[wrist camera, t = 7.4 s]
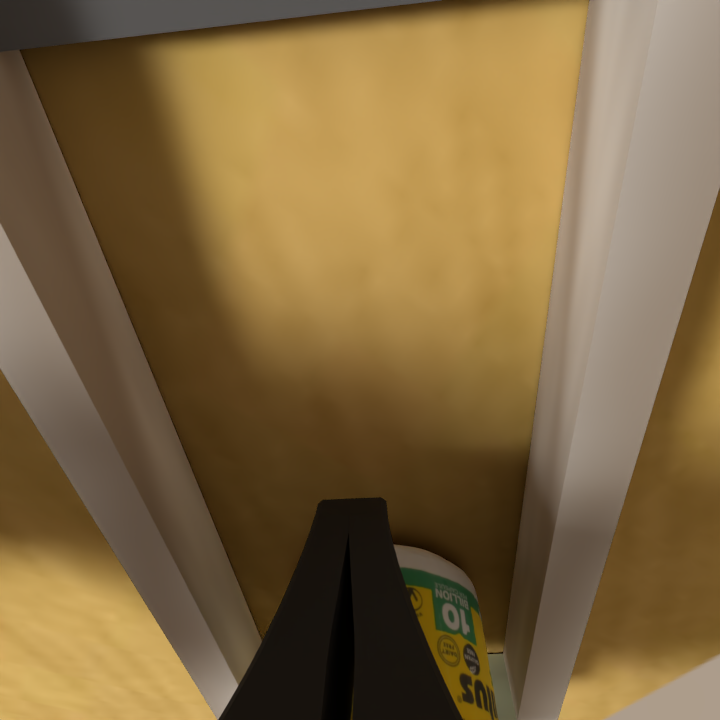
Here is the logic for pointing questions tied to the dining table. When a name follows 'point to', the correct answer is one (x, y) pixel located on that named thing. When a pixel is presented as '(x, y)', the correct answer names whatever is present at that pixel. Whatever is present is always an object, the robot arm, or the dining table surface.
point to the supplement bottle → (451, 628)
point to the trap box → (557, 375)
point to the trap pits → (147, 17)
